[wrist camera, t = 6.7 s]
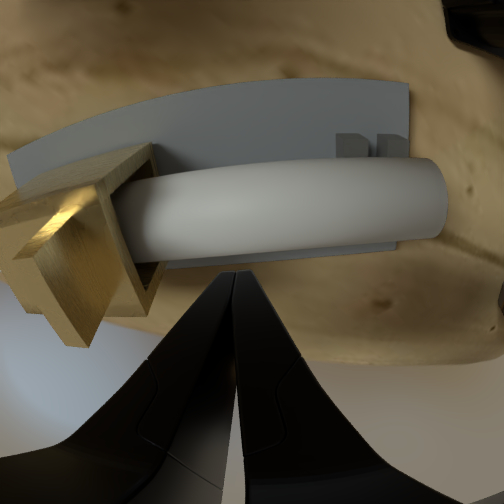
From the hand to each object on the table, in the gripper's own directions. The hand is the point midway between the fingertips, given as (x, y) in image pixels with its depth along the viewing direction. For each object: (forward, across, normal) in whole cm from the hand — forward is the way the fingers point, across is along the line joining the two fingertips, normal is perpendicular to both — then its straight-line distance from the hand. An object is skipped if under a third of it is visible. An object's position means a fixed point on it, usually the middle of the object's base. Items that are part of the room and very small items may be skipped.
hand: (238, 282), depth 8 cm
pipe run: (+9, +3, 0) cm, 9 cm away
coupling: (+8, +8, 0) cm, 11 cm away
